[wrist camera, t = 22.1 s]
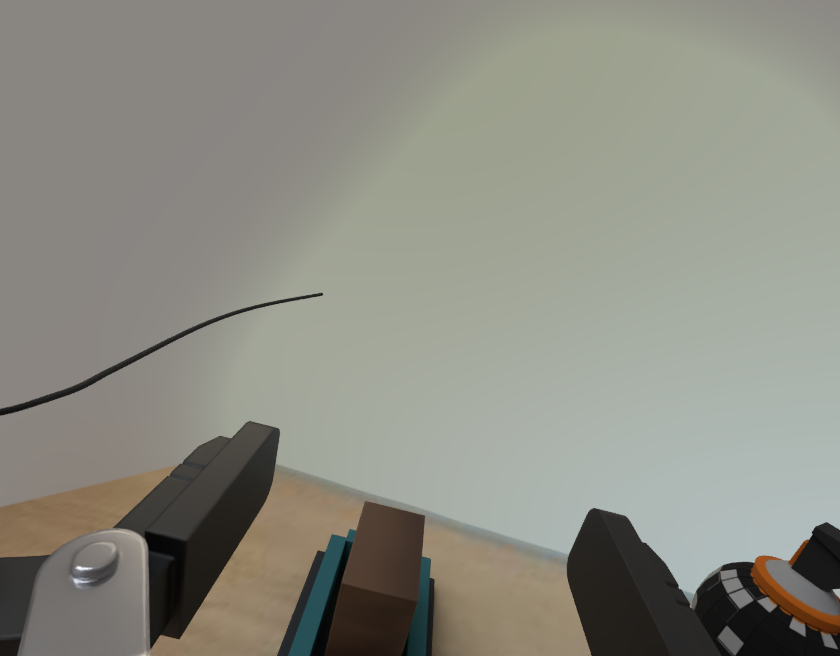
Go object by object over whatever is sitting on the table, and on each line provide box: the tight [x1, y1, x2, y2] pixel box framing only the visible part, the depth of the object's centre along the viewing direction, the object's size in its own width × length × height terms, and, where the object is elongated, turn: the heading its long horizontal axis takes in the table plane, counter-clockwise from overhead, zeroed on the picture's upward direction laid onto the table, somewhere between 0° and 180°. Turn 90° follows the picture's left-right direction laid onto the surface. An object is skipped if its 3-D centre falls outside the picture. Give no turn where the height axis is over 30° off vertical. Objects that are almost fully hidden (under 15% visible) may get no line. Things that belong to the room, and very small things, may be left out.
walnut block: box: [325, 501, 425, 656], centre depth 24 cm, size 4×6×10 cm, turn 176°
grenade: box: [692, 522, 840, 656], centre depth 29 cm, size 11×10×15 cm
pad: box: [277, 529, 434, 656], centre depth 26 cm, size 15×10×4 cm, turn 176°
